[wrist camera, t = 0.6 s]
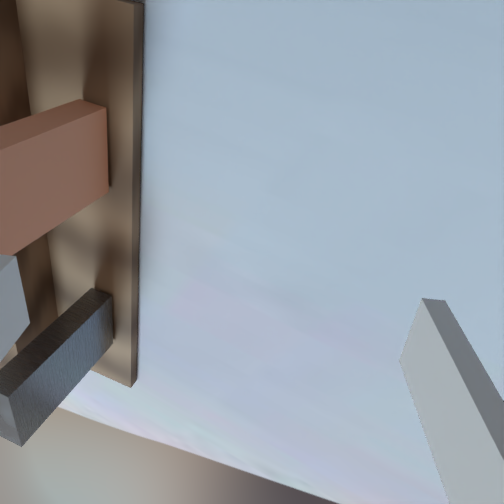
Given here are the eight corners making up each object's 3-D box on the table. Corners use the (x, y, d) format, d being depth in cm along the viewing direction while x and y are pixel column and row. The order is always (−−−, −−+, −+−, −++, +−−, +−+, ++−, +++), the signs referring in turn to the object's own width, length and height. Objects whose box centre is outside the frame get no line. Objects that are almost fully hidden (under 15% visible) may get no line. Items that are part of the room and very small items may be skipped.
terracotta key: (78, 98, 27) (-91, 157, 19) (106, 107, 27) (-54, 171, 18) (84, 183, 31) (-56, 265, 22) (108, 191, 30) (-25, 279, 22)
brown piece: (-29, -42, 26) (-133, -45, 22) (143, 3, 24) (70, 11, 19) (38, 336, 46) (-8, 377, 41) (136, 380, 44) (99, 429, 39)
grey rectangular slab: (91, 287, 37) (-18, 385, 28) (111, 295, 36) (7, 397, 28) (94, 335, 40) (-2, 435, 31) (113, 343, 40) (21, 446, 31)
